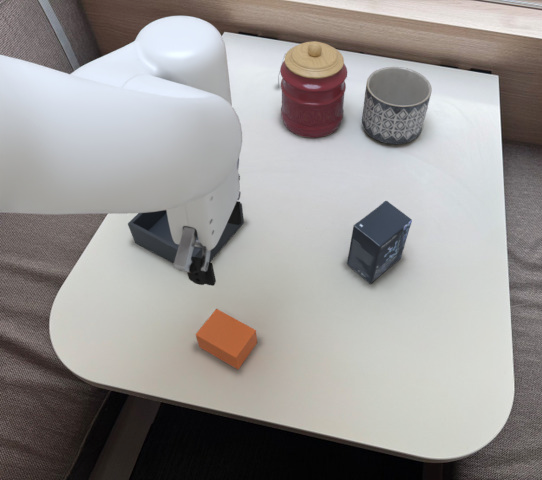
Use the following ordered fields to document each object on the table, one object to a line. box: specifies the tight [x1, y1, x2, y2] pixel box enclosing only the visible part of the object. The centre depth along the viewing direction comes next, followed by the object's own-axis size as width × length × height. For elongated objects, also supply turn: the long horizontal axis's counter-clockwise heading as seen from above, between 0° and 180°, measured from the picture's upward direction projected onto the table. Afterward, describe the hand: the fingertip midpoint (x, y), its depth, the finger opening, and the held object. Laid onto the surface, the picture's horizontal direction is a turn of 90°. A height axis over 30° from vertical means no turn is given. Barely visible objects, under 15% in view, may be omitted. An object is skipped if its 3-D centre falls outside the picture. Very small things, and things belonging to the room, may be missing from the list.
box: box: [346, 200, 413, 284], centre depth 84 cm, size 8×6×11 cm
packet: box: [195, 308, 258, 370], centre depth 76 cm, size 5×7×4 cm
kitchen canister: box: [279, 40, 348, 139], centre depth 103 cm, size 13×13×18 cm
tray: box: [127, 202, 245, 264], centre depth 88 cm, size 13×13×5 cm
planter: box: [361, 66, 433, 145], centre depth 105 cm, size 13×13×10 cm
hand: (217, 250), depth 65 cm, fingers open, 9 cm apart
